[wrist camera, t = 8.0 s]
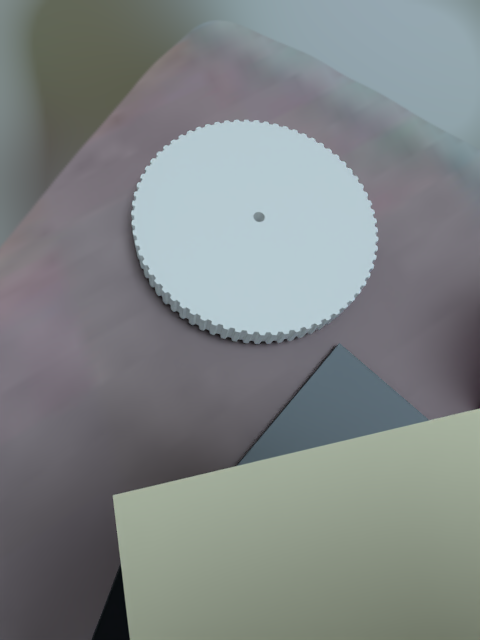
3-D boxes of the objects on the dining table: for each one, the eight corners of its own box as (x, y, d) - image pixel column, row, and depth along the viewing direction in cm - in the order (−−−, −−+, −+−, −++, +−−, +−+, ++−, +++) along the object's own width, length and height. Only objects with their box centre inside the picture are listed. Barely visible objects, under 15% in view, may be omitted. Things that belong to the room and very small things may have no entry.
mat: (390, 720, 19) (395, 726, 18) (189, 521, 20) (189, 522, 20) (511, 496, 23) (517, 496, 22) (336, 346, 24) (339, 343, 24)
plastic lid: (120, 339, 23) (114, 323, 21) (149, 136, 28) (146, 105, 26) (368, 357, 25) (388, 345, 23) (354, 163, 30) (369, 135, 27)
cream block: (320, 595, 14) (898, 1048, 3) (185, 637, 13) (237, 1556, 2) (286, 455, 15) (578, 385, 4) (161, 485, 14) (112, 495, 3)
